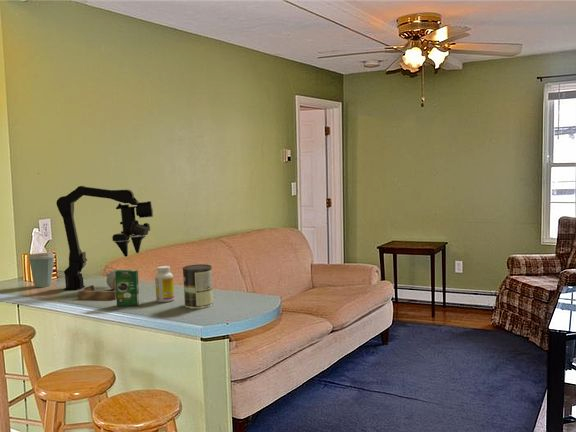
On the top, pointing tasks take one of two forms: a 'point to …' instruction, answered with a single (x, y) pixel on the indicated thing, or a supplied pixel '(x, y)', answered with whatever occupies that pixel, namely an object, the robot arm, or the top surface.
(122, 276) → the coffee box
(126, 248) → the robot arm
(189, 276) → the coffee can
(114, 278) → the ceramic mug
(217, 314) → the top surface
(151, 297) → the top surface
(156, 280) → the supplement bottle
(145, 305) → the top surface
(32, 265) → the disposable coffee cup
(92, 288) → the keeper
